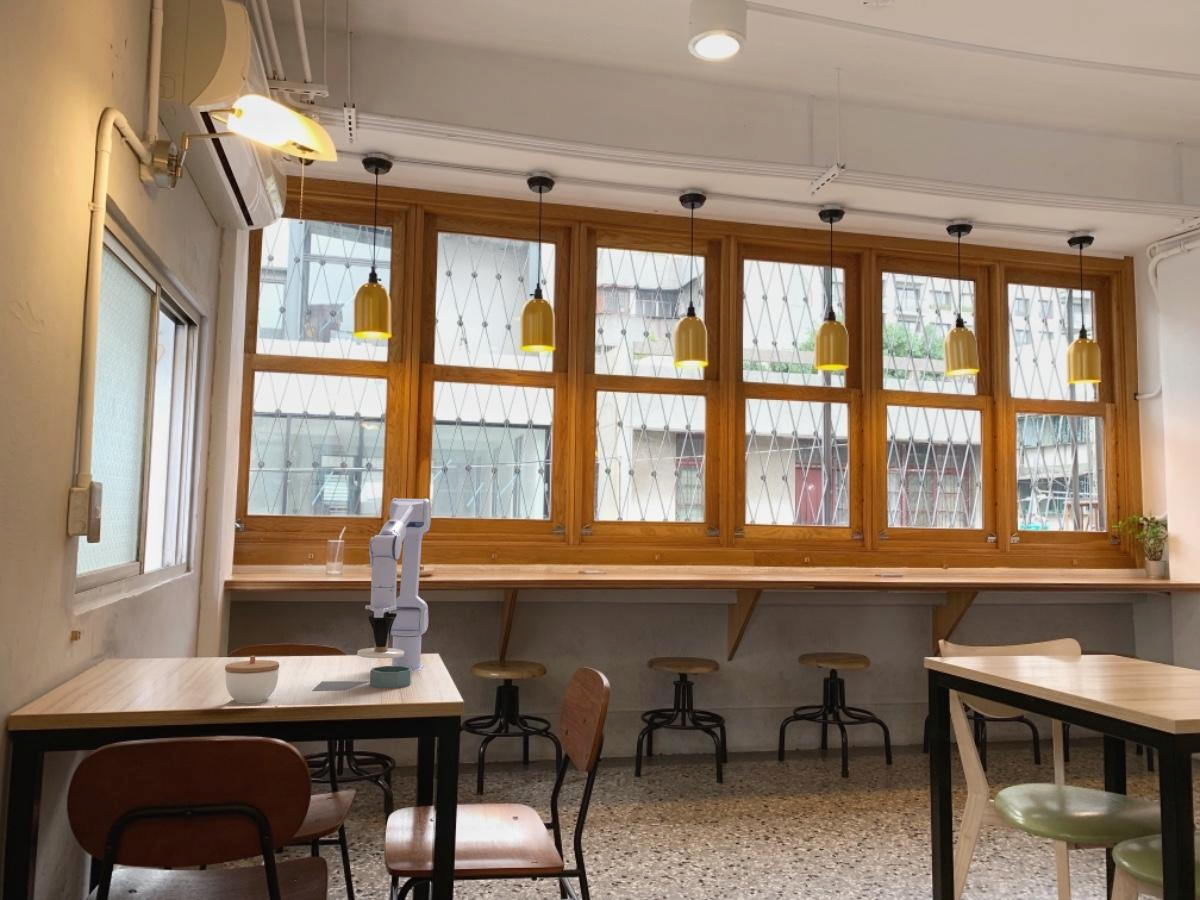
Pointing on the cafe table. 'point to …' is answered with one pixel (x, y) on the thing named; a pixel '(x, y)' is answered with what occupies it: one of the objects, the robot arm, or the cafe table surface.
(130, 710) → the cafe table surface
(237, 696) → the lidded jar
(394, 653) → the lid
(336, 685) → the mat
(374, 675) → the bowl
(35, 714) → the cafe table surface
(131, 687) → the cafe table surface
